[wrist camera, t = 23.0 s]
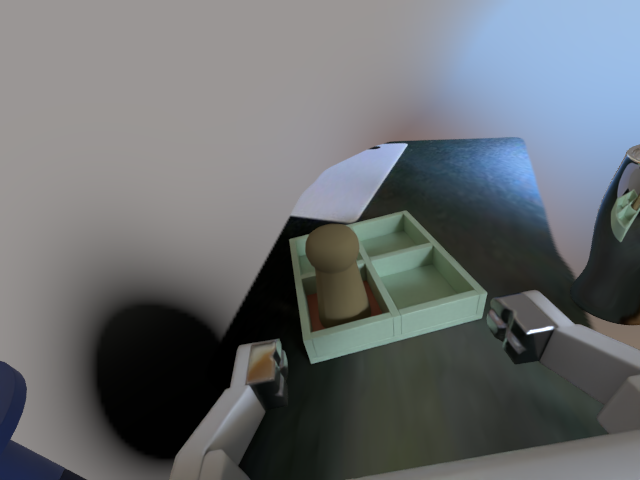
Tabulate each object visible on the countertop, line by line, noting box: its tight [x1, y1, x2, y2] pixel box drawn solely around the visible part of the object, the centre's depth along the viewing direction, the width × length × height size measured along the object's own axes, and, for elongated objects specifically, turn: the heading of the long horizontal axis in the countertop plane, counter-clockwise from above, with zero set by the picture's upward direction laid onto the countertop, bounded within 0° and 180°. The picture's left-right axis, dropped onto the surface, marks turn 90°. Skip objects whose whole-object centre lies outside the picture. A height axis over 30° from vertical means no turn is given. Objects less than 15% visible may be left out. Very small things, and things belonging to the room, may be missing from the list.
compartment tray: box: [289, 211, 487, 364], centre depth 35 cm, size 18×18×4 cm
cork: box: [305, 224, 371, 329], centre depth 28 cm, size 6×6×11 cm
